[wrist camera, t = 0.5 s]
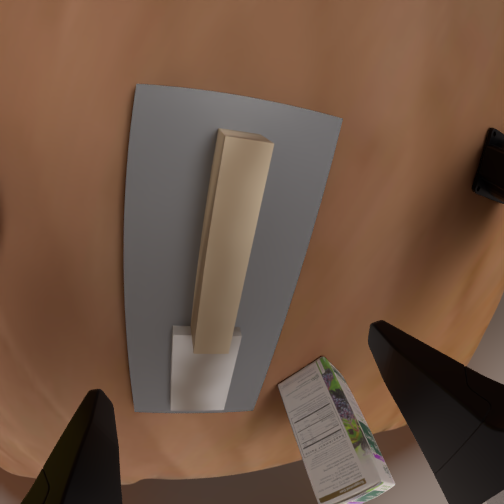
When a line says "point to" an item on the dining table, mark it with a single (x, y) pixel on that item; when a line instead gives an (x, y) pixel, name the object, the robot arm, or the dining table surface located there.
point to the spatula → (220, 273)
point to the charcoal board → (191, 223)
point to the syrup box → (333, 436)
